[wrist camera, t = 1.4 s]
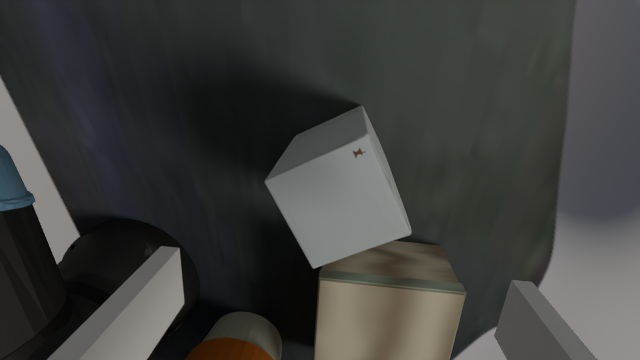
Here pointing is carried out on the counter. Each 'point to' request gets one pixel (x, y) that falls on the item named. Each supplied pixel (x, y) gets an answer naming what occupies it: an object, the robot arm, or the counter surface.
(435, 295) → the maple box
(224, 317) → the reusable coffee cup
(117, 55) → the counter surface
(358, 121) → the supplement box
